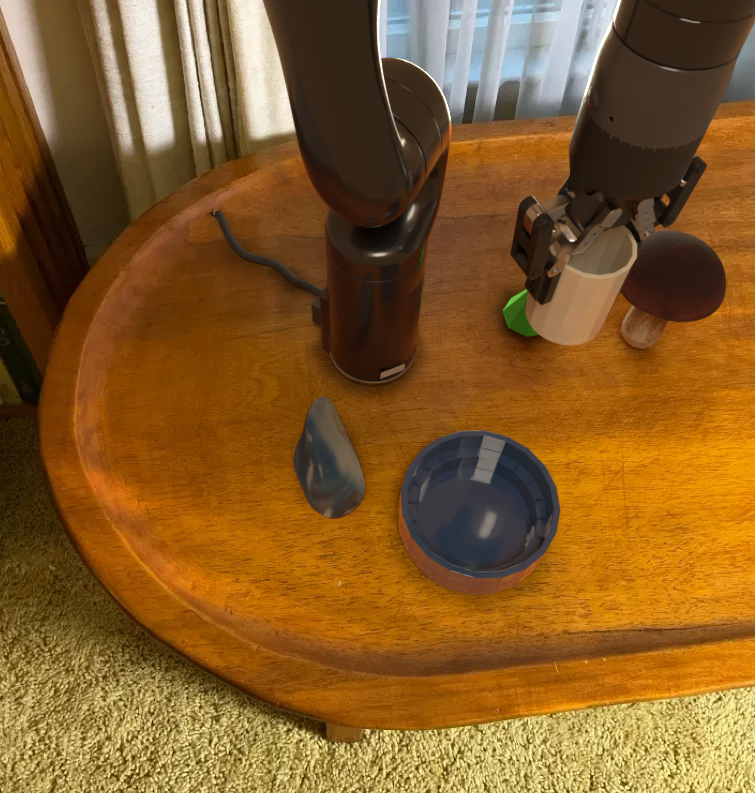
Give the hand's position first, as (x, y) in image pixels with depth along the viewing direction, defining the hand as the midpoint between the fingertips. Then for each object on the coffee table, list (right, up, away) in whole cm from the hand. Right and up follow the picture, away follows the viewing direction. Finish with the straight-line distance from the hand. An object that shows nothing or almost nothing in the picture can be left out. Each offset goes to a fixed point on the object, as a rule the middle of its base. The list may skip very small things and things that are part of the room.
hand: (577, 279), depth 59 cm
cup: (0, -2, +4) cm, 4 cm away
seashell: (-20, -17, +16) cm, 30 cm away
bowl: (-7, -21, +14) cm, 26 cm away
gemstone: (+1, 0, +27) cm, 27 cm away
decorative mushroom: (+13, -3, +25) cm, 29 cm away
